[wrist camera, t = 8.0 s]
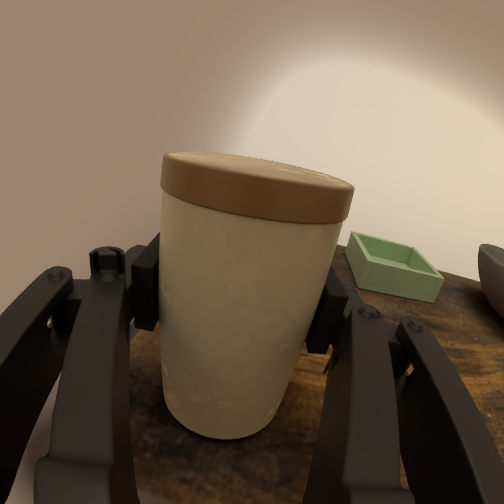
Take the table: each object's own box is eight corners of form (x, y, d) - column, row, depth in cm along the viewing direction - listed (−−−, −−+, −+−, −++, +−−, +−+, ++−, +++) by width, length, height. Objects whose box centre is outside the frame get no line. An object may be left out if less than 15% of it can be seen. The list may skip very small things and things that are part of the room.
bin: (358, 288, 28) (367, 260, 27) (344, 253, 37) (351, 231, 36) (433, 303, 27) (444, 278, 26) (407, 267, 36) (414, 247, 35)
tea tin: (141, 416, 10) (122, 156, 6) (185, 340, 16) (202, 149, 12) (273, 453, 10) (378, 203, 6) (285, 365, 15) (340, 176, 11)
